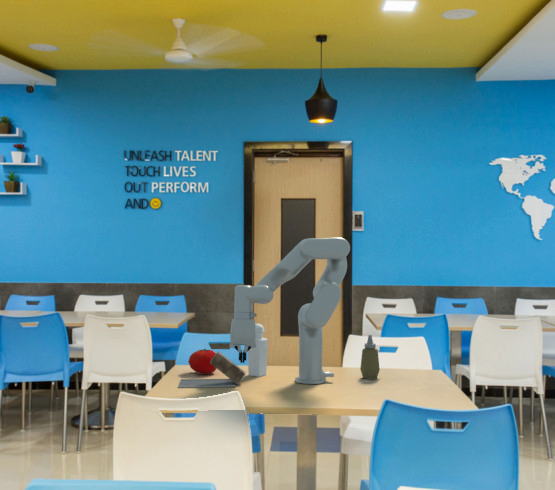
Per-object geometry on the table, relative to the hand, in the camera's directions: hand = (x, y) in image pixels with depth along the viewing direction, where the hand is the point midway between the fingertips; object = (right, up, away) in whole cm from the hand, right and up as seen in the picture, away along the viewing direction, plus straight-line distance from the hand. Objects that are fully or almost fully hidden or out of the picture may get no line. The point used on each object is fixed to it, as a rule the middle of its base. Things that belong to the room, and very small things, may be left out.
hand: (242, 362), depth 232 cm
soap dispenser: (+5, -9, +17) cm, 20 cm away
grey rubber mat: (-14, -8, -1) cm, 16 cm away
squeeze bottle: (+53, -9, +13) cm, 55 cm away
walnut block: (0, -6, 0) cm, 7 cm away
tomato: (-18, -9, +20) cm, 29 cm away
